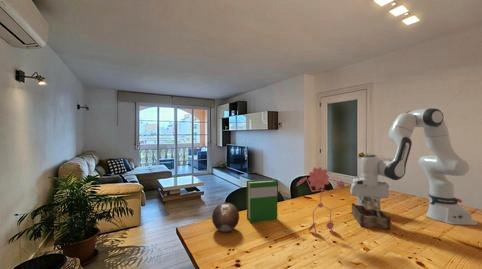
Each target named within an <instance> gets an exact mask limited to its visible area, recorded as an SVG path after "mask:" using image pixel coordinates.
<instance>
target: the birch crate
mask: <svg viewBox="0 0 482 269" xmlns="http://www.w3.org/2000/svg"><path fill="white" fill-rule="evenodd" d="M361 200H363V201H364V202H363V203H364V204H362V205H363V206H364V208H365V209H366V210H376V211H379V202H378V201H377V200H376V199H375V198H373V197H363V196H362V198H361Z"/></svg>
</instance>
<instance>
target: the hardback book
mask: <svg viewBox="0 0 482 269" xmlns="http://www.w3.org/2000/svg"><path fill="white" fill-rule="evenodd" d="M246 219H247V220H249V223H250V224H254V223H262V222H271V221H278V181H277V180H276V179H273V178H269V179H265V178H264V179H251V180H246Z"/></svg>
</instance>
